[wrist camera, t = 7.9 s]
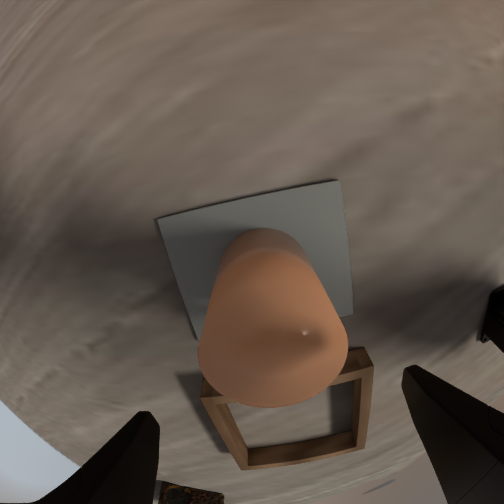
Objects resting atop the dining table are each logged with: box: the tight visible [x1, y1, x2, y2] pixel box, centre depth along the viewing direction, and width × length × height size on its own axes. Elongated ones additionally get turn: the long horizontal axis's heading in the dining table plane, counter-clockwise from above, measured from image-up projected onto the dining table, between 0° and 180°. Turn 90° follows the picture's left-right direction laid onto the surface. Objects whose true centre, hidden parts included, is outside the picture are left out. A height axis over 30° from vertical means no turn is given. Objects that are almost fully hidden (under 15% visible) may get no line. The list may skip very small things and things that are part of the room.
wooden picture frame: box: [200, 347, 374, 470], centre depth 24 cm, size 14×14×2 cm
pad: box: [158, 180, 354, 342], centre depth 19 cm, size 12×10×1 cm
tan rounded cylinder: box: [198, 228, 348, 408], centre depth 15 cm, size 6×8×9 cm
